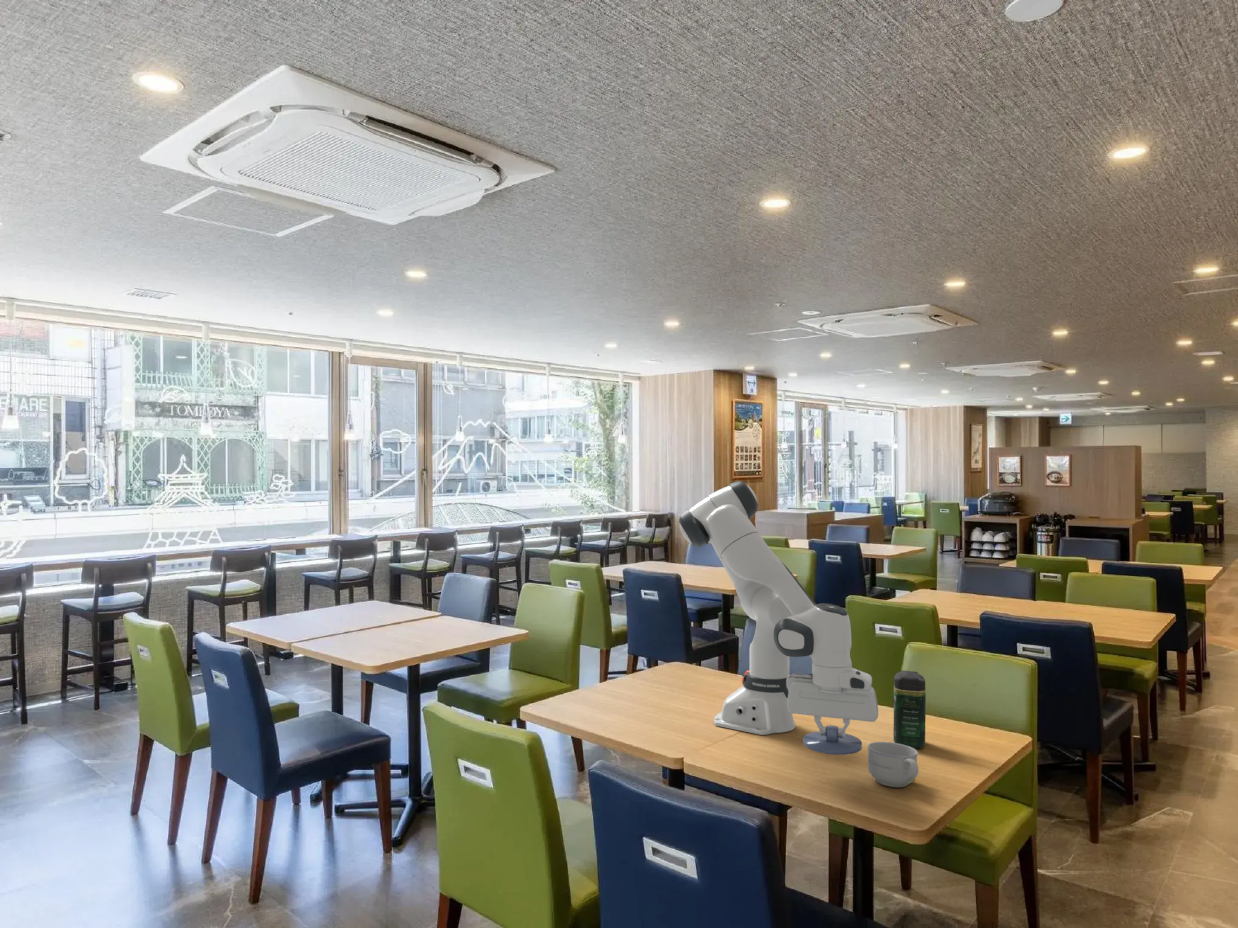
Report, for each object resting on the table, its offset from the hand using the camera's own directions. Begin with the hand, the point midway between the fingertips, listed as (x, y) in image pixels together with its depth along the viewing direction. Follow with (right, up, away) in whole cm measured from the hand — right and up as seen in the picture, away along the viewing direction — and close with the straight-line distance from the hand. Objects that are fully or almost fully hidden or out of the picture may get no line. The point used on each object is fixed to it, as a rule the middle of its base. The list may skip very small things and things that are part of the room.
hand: (832, 735), depth 183 cm
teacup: (+14, -10, -3) cm, 17 cm away
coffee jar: (+27, -11, +25) cm, 38 cm away
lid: (0, -2, 0) cm, 2 cm away
